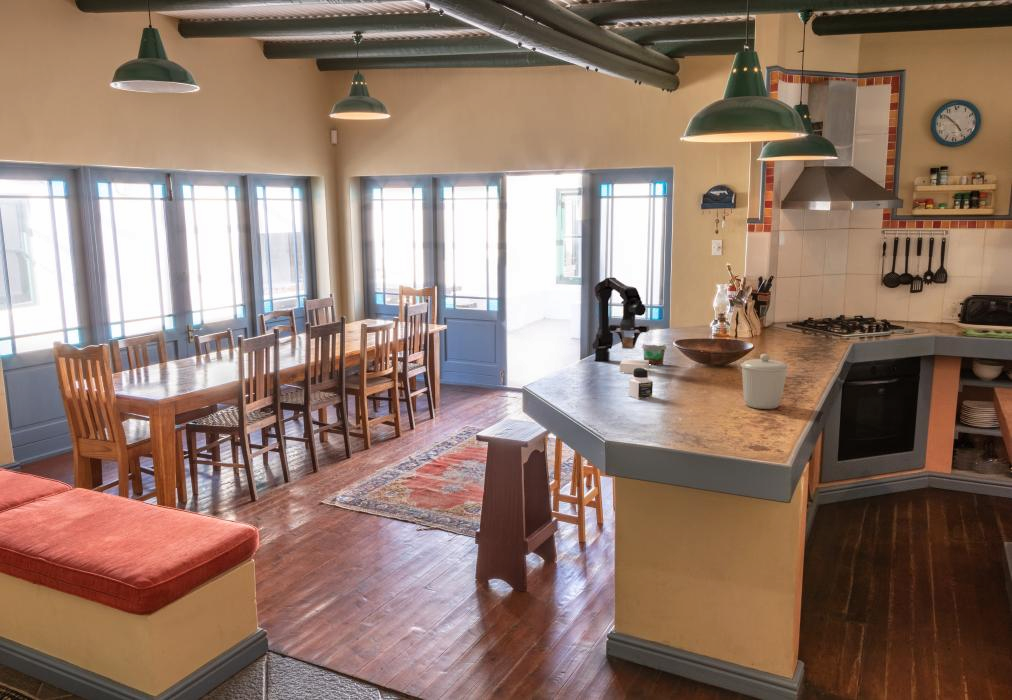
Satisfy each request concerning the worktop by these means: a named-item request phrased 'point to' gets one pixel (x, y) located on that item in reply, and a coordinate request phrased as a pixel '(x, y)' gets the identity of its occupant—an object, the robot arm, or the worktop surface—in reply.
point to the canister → (763, 382)
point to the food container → (654, 353)
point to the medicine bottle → (640, 384)
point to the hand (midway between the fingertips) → (628, 345)
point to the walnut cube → (628, 343)
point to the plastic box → (633, 365)
